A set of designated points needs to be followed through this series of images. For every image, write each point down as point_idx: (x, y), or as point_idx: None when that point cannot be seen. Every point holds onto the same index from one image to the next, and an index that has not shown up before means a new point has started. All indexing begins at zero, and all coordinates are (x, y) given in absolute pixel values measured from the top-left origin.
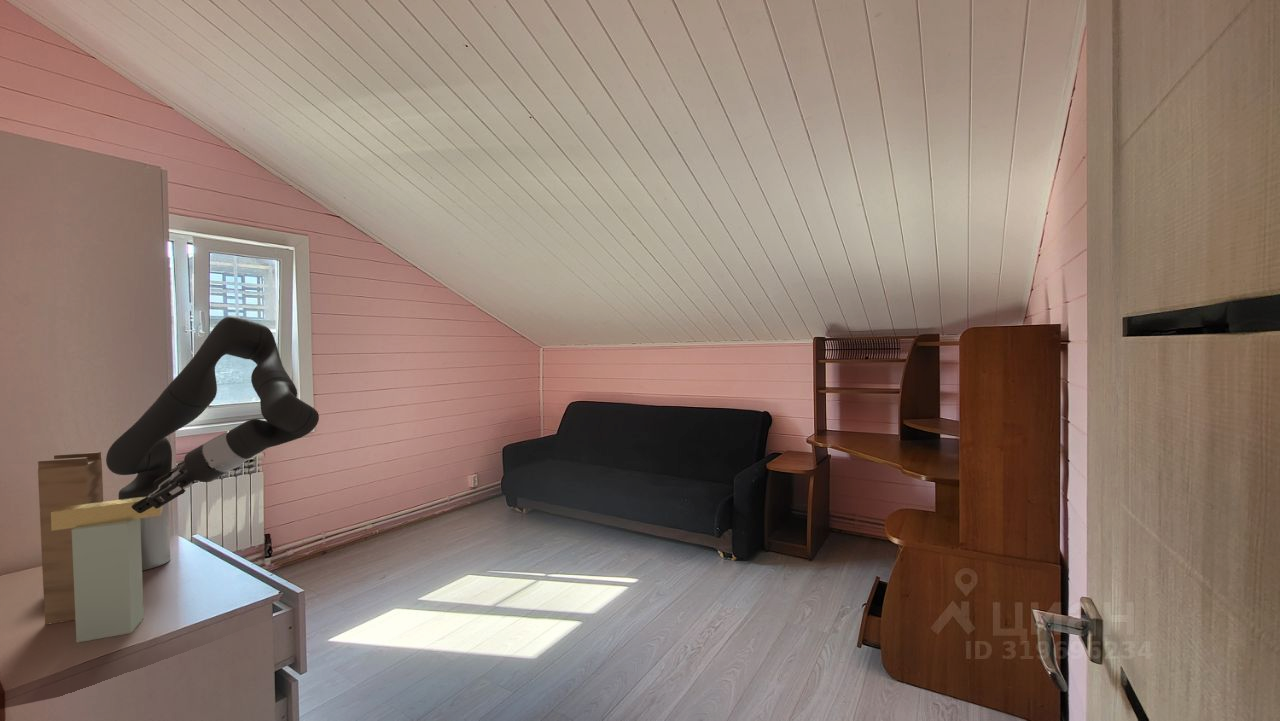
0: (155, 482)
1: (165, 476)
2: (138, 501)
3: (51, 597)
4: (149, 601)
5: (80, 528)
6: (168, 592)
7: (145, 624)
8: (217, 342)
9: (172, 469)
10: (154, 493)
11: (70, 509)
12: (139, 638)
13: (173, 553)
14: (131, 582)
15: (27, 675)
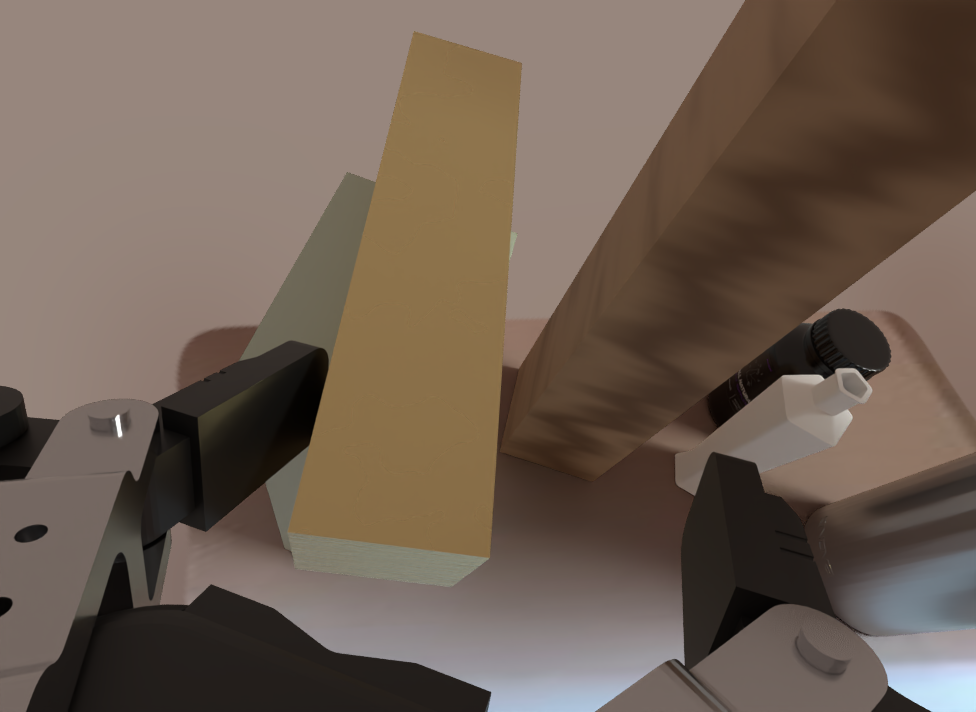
0: (710, 472)
1: (722, 557)
2: (280, 363)
3: (538, 344)
4: (524, 588)
5: (343, 197)
6: (571, 643)
7: (325, 585)
8: None
9: (817, 649)
10: (50, 447)
11: (416, 83)
12: (215, 572)
13: (934, 644)
14: (291, 508)
15: (212, 350)
